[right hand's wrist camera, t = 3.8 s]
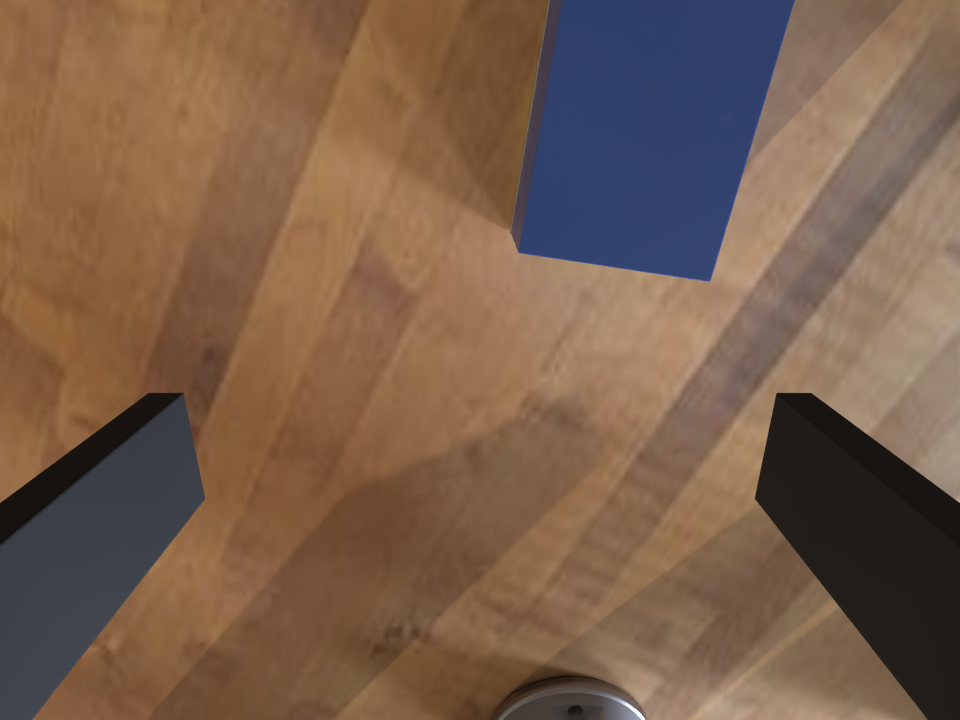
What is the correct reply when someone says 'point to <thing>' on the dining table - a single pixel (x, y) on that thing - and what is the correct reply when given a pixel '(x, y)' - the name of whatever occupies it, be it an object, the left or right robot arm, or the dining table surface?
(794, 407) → the right robot arm
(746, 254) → the dining table surface
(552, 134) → the cabinet
